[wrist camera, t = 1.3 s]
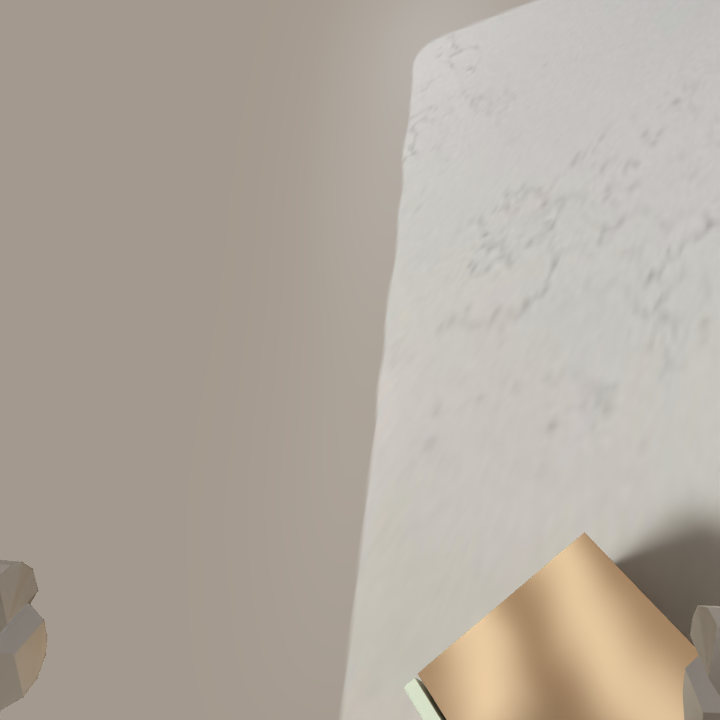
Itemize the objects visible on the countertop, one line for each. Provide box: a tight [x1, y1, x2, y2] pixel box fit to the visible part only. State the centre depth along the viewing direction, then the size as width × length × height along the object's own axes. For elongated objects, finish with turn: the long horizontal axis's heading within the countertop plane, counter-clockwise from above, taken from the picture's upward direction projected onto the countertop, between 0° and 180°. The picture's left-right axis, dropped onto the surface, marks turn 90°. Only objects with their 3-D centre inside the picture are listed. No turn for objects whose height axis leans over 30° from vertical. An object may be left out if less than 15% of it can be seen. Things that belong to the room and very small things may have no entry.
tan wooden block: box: [418, 532, 699, 720], centre depth 37 cm, size 12×10×7 cm
